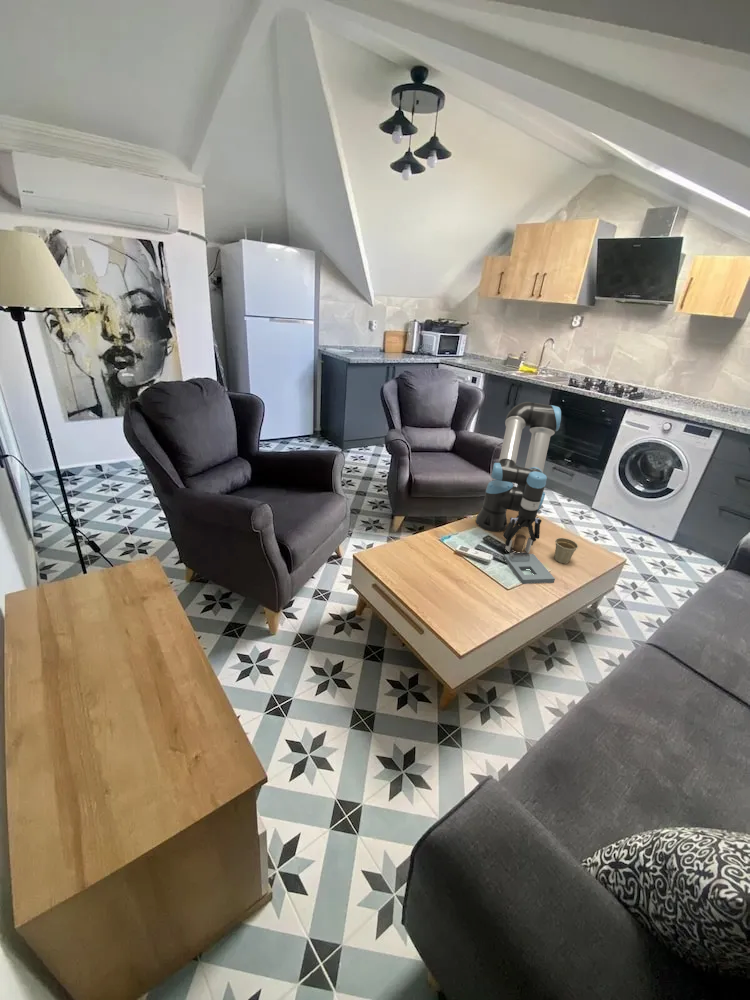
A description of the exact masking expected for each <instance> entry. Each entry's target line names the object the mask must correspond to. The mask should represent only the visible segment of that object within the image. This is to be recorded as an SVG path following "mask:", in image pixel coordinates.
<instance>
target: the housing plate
mask: <svg viewBox="0 0 750 1000" xmlns="http://www.w3.org/2000/svg"><path fill="white" fill-rule="evenodd" d="M528 554H529V555H530V560H529V561H513V562H512V561H511V560H510V559H509V555H510V553H506V554H505V553H504V554H503V557H504V559H505V560H506V561H505V560H504V559H503V560H504V561H505V563H506V562H507V563H508V564H507V563H506V564H507V566H508V565H509V566H510V567H509V566H508V567H509V568H510V570H511V569H512V570H513V571H512V570H511V571H512V572H513V574H514V573H515V574H514V575H515V576H516V578H517V577H518V578H519V579H518V578H517V579H518V580H519V582H520V581H521V582H520V583H521V584H523V585H525V584H530V585H531V584H554V583H555V580H556V578H555V577H554V575H552V574H551V572H550V571H549V570H548V569H547V568H546V566H545V565H544V564H543V563H542V562H541V561H540V559H539V558H538V557H537V556H536V555H535V554H534V553H528ZM526 569H530V570H531V572H532V573H533V574H534V575H533V574H532V573H531V572H530V573H531V574H524V572H523V571H527V570H526ZM530 570H529V571H530Z"/></svg>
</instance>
